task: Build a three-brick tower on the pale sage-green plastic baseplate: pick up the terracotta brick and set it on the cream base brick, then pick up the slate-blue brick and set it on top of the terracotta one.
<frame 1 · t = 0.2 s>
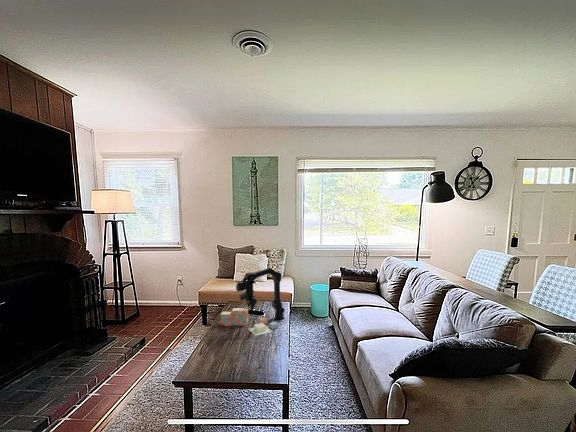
hand: (250, 308, 217), 14 cm above the table, fingers open, 9 cm apart
baseplate: (260, 330, 209), on the table
brick terracotta: (263, 323, 222), on the table
brick blue: (274, 328, 213), on the table
brick cream: (260, 329, 209), point 1 cm above the table, touching baseplate
stack of blocks: (234, 324, 222), on the table
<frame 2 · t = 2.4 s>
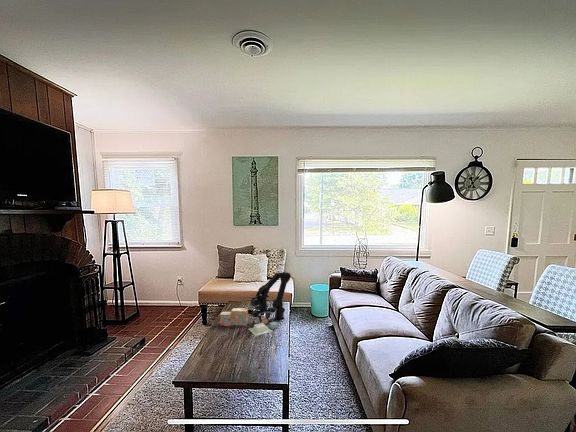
hand: (263, 322, 222), 1 cm above the table, fingers closed on brick terracotta, 5 cm apart
brick terracotta: (263, 323, 222), on the table, touching gripper
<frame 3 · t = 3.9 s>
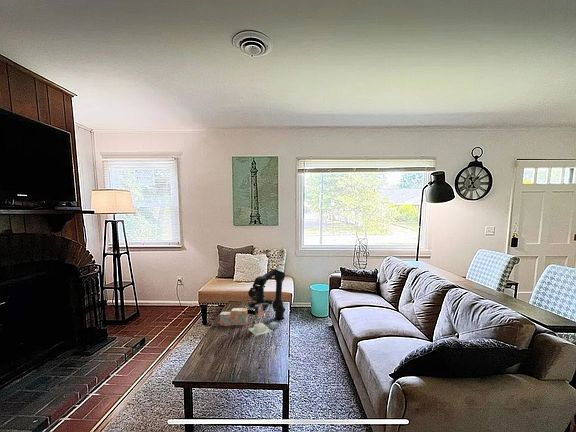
hand: (260, 314, 212), 12 cm above the table, fingers closed on brick terracotta, 5 cm apart
brick terracotta: (260, 315, 212), point 11 cm above the table, touching gripper
everything else where it was.
when the fingers open (6 cm above the table, at t = 5.4 s): brick terracotta stays where it is, resting on brick cream.
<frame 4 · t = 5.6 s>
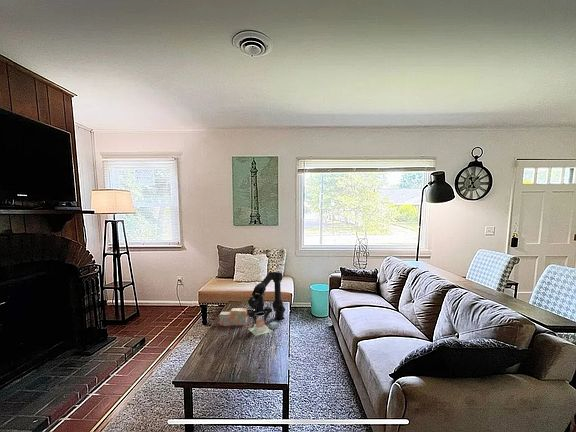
hand: (260, 322, 209), 6 cm above the table, fingers open, 7 cm apart
brick terracotta: (260, 325, 209), point 4 cm above the table, touching brick cream
brick cream: (260, 329, 209), point 1 cm above the table, touching baseplate, brick terracotta
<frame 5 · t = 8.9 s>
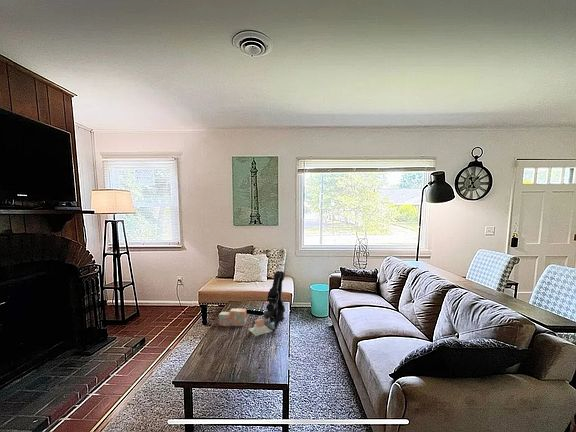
hand: (274, 326, 213), 1 cm above the table, fingers closed on brick blue, 5 cm apart
brick blue: (274, 328, 213), on the table, touching gripper
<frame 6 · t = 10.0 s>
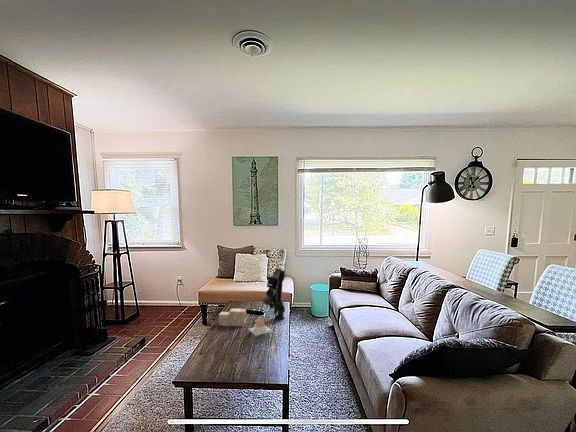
hand: (273, 313, 213), 12 cm above the table, fingers closed on brick blue, 5 cm apart
brick blue: (273, 314, 213), point 11 cm above the table, touching gripper
when the fingers open (10 cm above the table, at t = 11.5 s): brick blue stays where it is, resting on brick terracotta.
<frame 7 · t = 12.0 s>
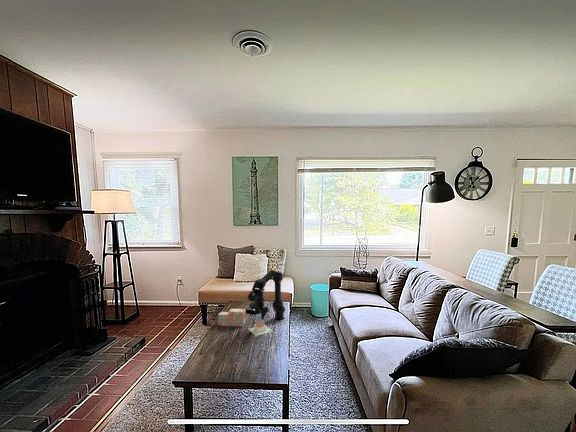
hand: (259, 317, 209), 10 cm above the table, fingers open, 9 cm apart
brick terracotta: (260, 325, 209), point 4 cm above the table, touching brick blue, brick cream
brick blue: (259, 320, 209), point 8 cm above the table, touching brick terracotta
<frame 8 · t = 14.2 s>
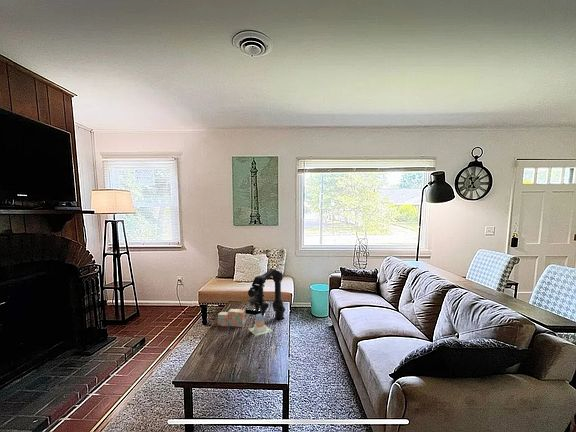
hand: (259, 313, 209), 13 cm above the table, fingers open, 9 cm apart
at the end: brick terracotta 0.1 cm off-centre on the brick cream, point 3.5 cm above the brick cream's base; brick blue 0.0 cm off-centre on the brick terracotta, point 4.0 cm above the brick terracotta's base; brick blue tilted 0° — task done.
